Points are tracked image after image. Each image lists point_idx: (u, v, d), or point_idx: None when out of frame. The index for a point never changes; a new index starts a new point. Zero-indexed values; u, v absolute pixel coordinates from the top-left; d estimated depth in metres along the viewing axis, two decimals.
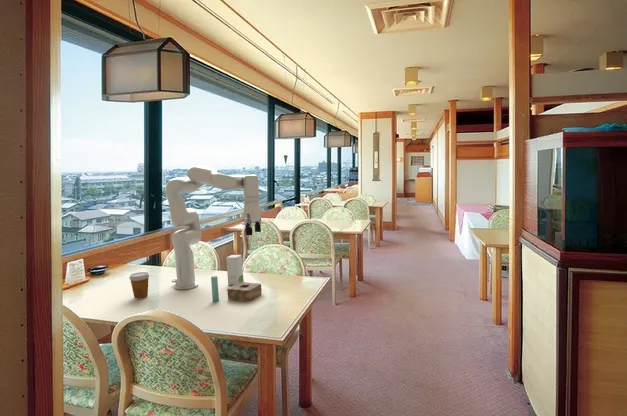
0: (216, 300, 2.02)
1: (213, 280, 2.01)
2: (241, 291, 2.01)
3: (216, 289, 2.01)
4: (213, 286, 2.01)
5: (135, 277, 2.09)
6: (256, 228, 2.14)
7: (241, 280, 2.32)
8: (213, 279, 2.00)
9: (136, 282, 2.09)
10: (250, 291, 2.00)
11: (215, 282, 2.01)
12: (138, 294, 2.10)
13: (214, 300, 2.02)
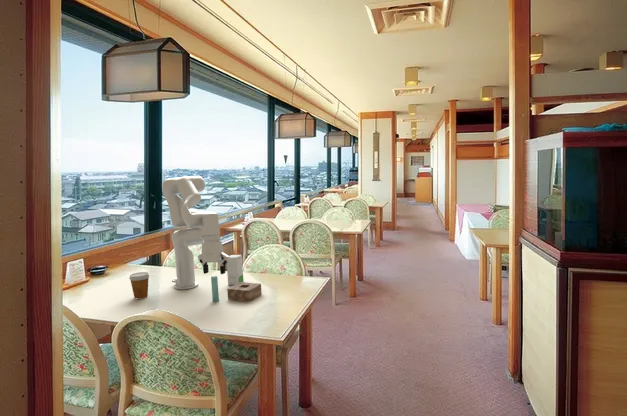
0: (216, 300, 2.02)
1: (213, 280, 2.01)
2: (241, 291, 2.01)
3: (216, 289, 2.01)
4: (213, 286, 2.01)
5: (135, 277, 2.09)
6: (205, 269, 2.02)
7: (241, 280, 2.32)
8: (213, 279, 2.00)
9: (136, 282, 2.09)
10: (250, 291, 2.00)
11: (215, 282, 2.01)
12: (138, 294, 2.10)
13: (214, 300, 2.02)
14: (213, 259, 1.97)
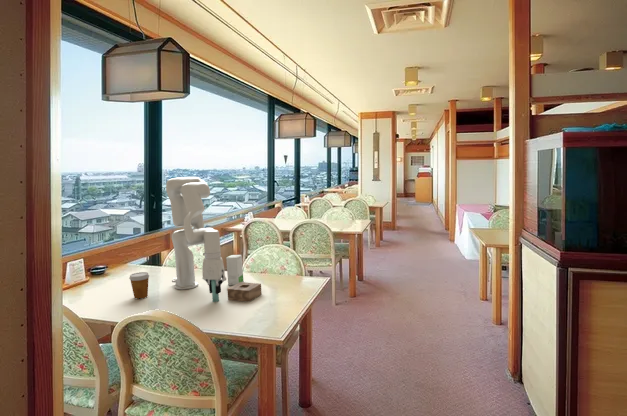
0: (216, 300, 2.02)
1: (213, 280, 2.01)
2: (241, 291, 2.01)
3: None
4: (213, 286, 2.01)
5: (135, 277, 2.09)
6: (211, 289, 2.03)
7: (241, 280, 2.32)
8: None
9: (136, 282, 2.09)
10: (250, 291, 2.00)
11: (215, 282, 2.01)
12: (138, 294, 2.10)
13: (214, 300, 2.02)
14: (214, 277, 1.98)
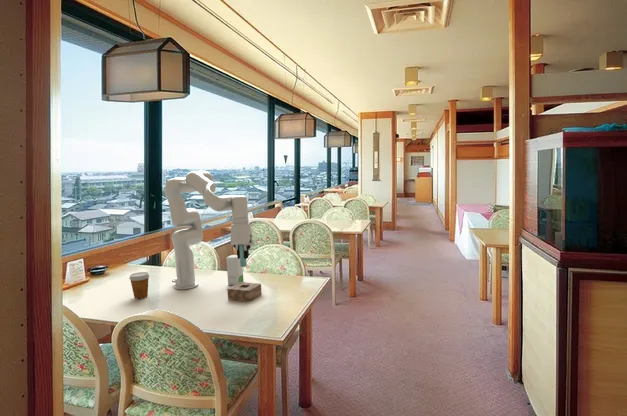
0: (244, 265, 2.04)
1: (241, 245, 2.03)
2: (241, 291, 2.01)
3: None
4: (241, 251, 2.03)
5: (135, 277, 2.09)
6: (239, 254, 2.05)
7: (241, 280, 2.32)
8: None
9: (136, 282, 2.09)
10: (250, 291, 2.00)
11: (243, 247, 2.03)
12: (138, 294, 2.10)
13: (242, 265, 2.04)
14: (242, 241, 2.01)
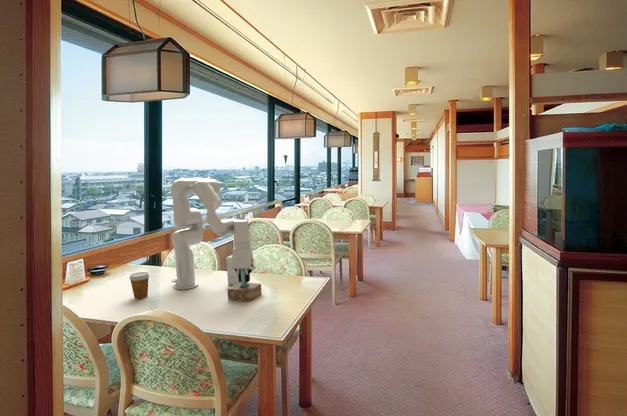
0: None
1: (242, 269, 2.04)
2: (241, 291, 2.01)
3: None
4: (242, 275, 2.05)
5: (135, 277, 2.09)
6: None
7: None
8: None
9: (136, 282, 2.09)
10: (250, 291, 2.00)
11: (244, 271, 2.05)
12: (138, 294, 2.10)
13: None
14: (243, 266, 2.02)
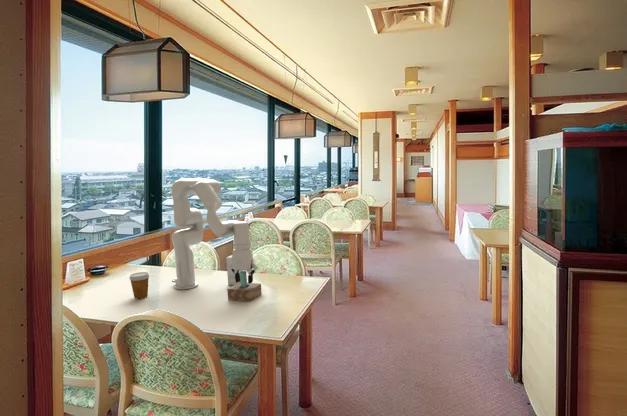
0: None
1: (242, 274, 2.05)
2: (241, 291, 2.01)
3: (245, 283, 2.06)
4: (242, 280, 2.05)
5: (135, 277, 2.09)
6: (237, 278, 2.07)
7: None
8: (242, 274, 2.05)
9: (136, 282, 2.09)
10: (250, 291, 2.00)
11: (244, 276, 2.05)
12: (138, 294, 2.10)
13: None
14: (243, 267, 2.02)
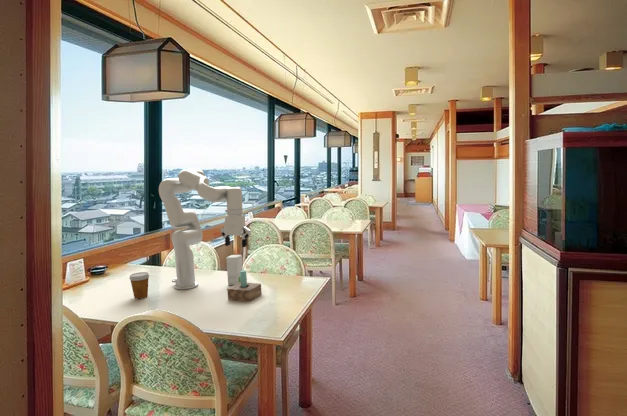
0: None
1: (242, 274, 2.05)
2: (241, 291, 2.01)
3: (245, 283, 2.06)
4: (242, 280, 2.05)
5: (135, 277, 2.09)
6: (227, 242, 2.10)
7: None
8: (242, 274, 2.05)
9: (136, 282, 2.09)
10: (250, 291, 2.00)
11: (244, 276, 2.05)
12: (138, 294, 2.10)
13: None
14: (235, 232, 2.04)
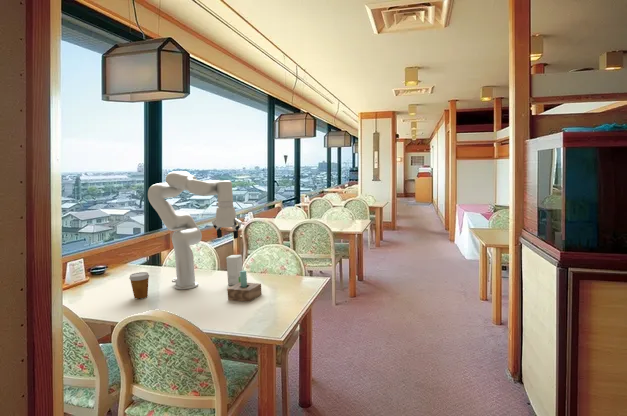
0: None
1: (242, 274, 2.05)
2: (241, 291, 2.01)
3: (245, 283, 2.06)
4: (242, 280, 2.05)
5: (135, 277, 2.09)
6: (219, 234, 2.15)
7: None
8: (242, 274, 2.05)
9: (136, 282, 2.09)
10: (250, 291, 2.00)
11: (244, 276, 2.05)
12: (138, 294, 2.10)
13: None
14: (227, 224, 2.10)
